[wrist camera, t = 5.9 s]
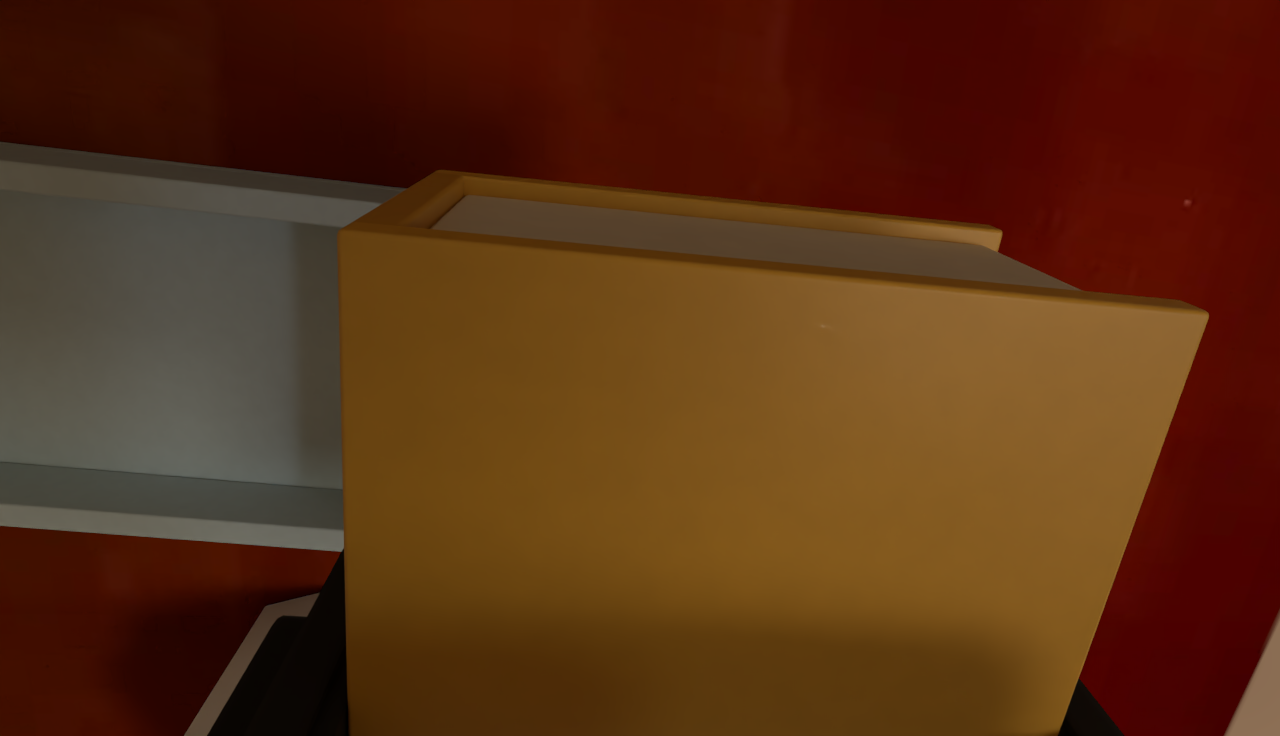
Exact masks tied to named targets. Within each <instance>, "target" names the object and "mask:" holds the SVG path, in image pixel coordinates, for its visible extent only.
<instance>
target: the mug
mask: <svg viewBox="0 0 1280 736" xmlns="http://www.w3.org/2000/svg"><path fill="white" fill-rule="evenodd" d="M318 595H319V593H316V594H312V595H308V596H304V597H300V598H296V599H292V600H288V601H284V602H279V603H275V604H271V605H267V606H265V607H264V609H263V610H262V612H261V614H260V615H259V617H258V618H257V620H256V622H255V623H254V625H253V626H252V628H251V630H250V631H249V633H248V634H247V636H246V638H245V639H244V641H243V642H242V644H241V646H240V647H239V649H238V650H237V652H236V654H235V655H234V657H233V658H232V660H231V661H230V663H229V665H228V666H227V668H226V669H225V671H224V673H223V674H222V676H221V677H220V679H219V681H218V682H217V684H216V685H215V687H214V689H213V690H212V692H211V693H210V695H209V697H208V698H207V700H206V701H205V703H204V705H203V706H202V708H201V709H200V711H199V712H198V714H197V716H196V717H195V719H194V720H193V722H192V724H191V725H190V727H189V728H188V730H187V732H186V733H185V735H184V736H207V735H208V733H209V731H210V730H211V728H212V726H213V724H214V723H215V721H216V719H217V718H218V716H219V714H220V713H221V711H222V709H223V708H224V706H225V704H226V702H227V701H228V699H229V697H230V696H231V694H232V692H233V691H234V689H235V687H236V685H237V684H238V682H239V680H240V679H241V677H242V675H243V674H244V672H245V670H246V669H247V667H248V665H249V663H250V662H251V660H252V658H253V657H254V655H255V653H256V652H257V650H258V648H259V646H260V645H261V643H262V641H263V640H264V638H265V636H266V635H267V633H268V631H269V629H270V628H271V626H272V625H273V623H274V622H275V621H276V620H277V618H279V617H281V616H283V615H285V616H303V617H307V616H308V614H309V612H310V610H311V608H312V606H313V605H314V603H315V601H316V599H317V597H318Z"/></svg>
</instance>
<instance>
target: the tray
mask: <svg viewBox="0 0 1280 736" xmlns="http://www.w3.org/2000/svg"><path fill="white" fill-rule="evenodd" d="M406 189H407V188H398V187H389V186H380V185H372V184H363V183H354V182H346V181H337V180H328V179H320V178H311V177H302V176H293V175H285V174H276V173H267V172H259V171H250V170H241V169H233V168H224V167H215V166H206V165H198V164H189V163H180V162H172V161H163V160H154V159H145V158H137V157H128V156H119V155H111V154H102V153H93V152H85V151H76V150H67V149H58V148H50V147H41V146H32V145H24V144H15V143H6V142H0V526H11V527H24V528H37V529H51V530H64V531H77V532H90V533H103V534H116V535H130V536H143V537H156V538H169V539H182V540H195V541H208V542H222V543H235V544H248V545H261V546H274V547H287V548H301V549H314V550H327V551H340V552H342V550H343V548H344V525H343V481H342V437H341V394H340V350H339V306H338V262H337V233H338V231H339V230H340V229H342V228H343V227H345V226H347V225H348V224H350V223H352V222H353V221H355V220H356V219H358V218H360V217H361V216H363V215H365V214H366V213H368V212H370V211H371V210H373V209H375V208H376V207H378V206H379V205H381V204H383V203H384V202H386V201H388V200H389V199H391V198H393V197H394V196H396V195H398V194H399V193H401V192H402V191H404V190H406Z"/></svg>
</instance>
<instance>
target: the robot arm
mask: <svg viewBox="0 0 1280 736" xmlns="http://www.w3.org/2000/svg"><path fill="white" fill-rule="evenodd" d="M207 736H348V700H347V657H346V613H345V569H344V548H343V550H342V552H341V554H340V556H339V558H338V560H337V562H336V563H335V565H334V567H333V569H332V571H331V573H330V575H329V576H328V578H327V580H326V582H325V584H324V586H323V588H322V590H321V591H320V593H319V595H318V597H317V599H316V601H315V603H314V605H313V606H312V608H311V610H310V612H309V614H308V616H307V617H303V616H285V615H283V616H281V617H279V618H277V620H276V621H275V622H274V623H273V625H272V626H271V628H270V629H269V631H268V633H267V635H266V636H265V638H264V640H263V641H262V643H261V645H260V646H259V648H258V650H257V652H256V653H255V655H254V657H253V658H252V660H251V662H250V663H249V665H248V667H247V669H246V670H245V672H244V674H243V675H242V677H241V679H240V680H239V682H238V684H237V685H236V687H235V689H234V691H233V692H232V694H231V696H230V697H229V699H228V701H227V702H226V704H225V706H224V708H223V709H222V711H221V713H220V714H219V716H218V718H217V719H216V721H215V723H214V724H213V726H212V728H211V730H210V731H209V733H208V735H207ZM1058 736H1124V735H1123V733H1122V732H1121V731H1120V730H1119V728H1118V727H1117V726H1116V725H1115V723H1114V722H1113V721H1112V720H1111V718H1110V717H1109V716H1108V715H1107V713H1106V712H1105V711H1104V709H1103V708H1102V707H1101V706H1100V704H1099V703H1098V702H1097V701H1096V699H1095V698H1094V697H1093V696H1092V694H1091V693H1090V692H1089V691H1088V689H1087V688H1086V687H1085V685H1084V684H1083V683H1082V682H1081V680H1080V679H1079V678H1078V681H1077V684H1076V687H1075V690H1074V692H1073V695H1072V698H1071V701H1070V703H1069V706H1068V709H1067V712H1066V715H1065V717H1064V720H1063V723H1062V726H1061V728H1060V731H1059V734H1058Z"/></svg>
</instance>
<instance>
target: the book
mask: <svg viewBox="0 0 1280 736" xmlns="http://www.w3.org/2000/svg"><path fill="white" fill-rule="evenodd" d="M1001 237H1002V231H1001V230H1000V229H997V228H995V227H992V226H990V225H984V224H974V223H964V222H954V221H944V220H934V219H924V218H914V217H904V216H894V215H885V214H875V213H865V212H855V211H845V210H835V209H825V208H815V207H805V206H795V205H786V204H776V203H766V202H756V201H746V200H736V199H726V198H716V197H706V196H696V195H686V194H677V193H667V192H657V191H647V190H637V189H627V188H617V187H607V186H597V185H587V184H578V183H568V182H558V181H548V180H538V179H528V178H518V177H508V176H498V175H488V174H478V173H469V172H459V171H449V170H437V171H435V172H434V173H432V174H430V175H429V176H427V177H425V178H424V179H422V180H421V181H419V182H417V183H416V184H414V185H412V186H411V187H409V188H407V189H406V190H404V191H402V192H401V193H399V194H398V195H396V196H394V197H393V198H391V199H389V200H388V201H386V202H384V203H383V204H381V205H379V206H378V207H376V208H375V209H373V210H371V211H370V212H368V213H366V214H365V215H363V216H361V217H360V218H358V219H356V220H355V221H353V222H352V223H350V224H348V225H347V226H345V227H343V228H342V229H340V230H339V231H338V233H337V262H338V306H339V350H340V394H341V437H342V481H343V525H344V569H345V613H346V657H347V700H348V736H1058V734H1059V731H1060V728H1061V726H1062V723H1063V720H1064V717H1065V715H1066V712H1067V709H1068V706H1069V703H1070V701H1071V698H1072V695H1073V692H1074V690H1075V687H1076V684H1077V681H1078V678H1079V676H1080V673H1081V670H1082V667H1083V665H1084V662H1085V659H1086V656H1087V653H1088V651H1089V648H1090V645H1091V642H1092V640H1093V637H1094V634H1095V631H1096V629H1097V626H1098V623H1099V620H1100V617H1101V615H1102V612H1103V609H1104V606H1105V604H1106V601H1107V598H1108V595H1109V592H1110V590H1111V587H1112V584H1113V581H1114V579H1115V576H1116V573H1117V570H1118V567H1119V565H1120V562H1121V559H1122V556H1123V554H1124V551H1125V548H1126V545H1127V543H1128V540H1129V537H1130V534H1131V531H1132V529H1133V526H1134V523H1135V520H1136V518H1137V515H1138V512H1139V509H1140V506H1141V504H1142V501H1143V498H1144V495H1145V493H1146V490H1147V487H1148V484H1149V481H1150V479H1151V476H1152V473H1153V470H1154V468H1155V465H1156V462H1157V459H1158V457H1159V454H1160V451H1161V448H1162V445H1163V443H1164V440H1165V437H1166V434H1167V432H1168V429H1169V426H1170V423H1171V420H1172V418H1173V415H1174V412H1175V409H1176V407H1177V404H1178V401H1179V398H1180V395H1181V393H1182V390H1183V387H1184V384H1185V382H1186V379H1187V376H1188V373H1189V371H1190V368H1191V365H1192V362H1193V359H1194V357H1195V354H1196V351H1197V348H1198V346H1199V343H1200V340H1201V337H1202V334H1203V332H1204V329H1205V326H1206V323H1207V321H1208V318H1209V313H1208V312H1206V311H1205V310H1203V309H1200V308H1198V307H1195V306H1193V305H1190V304H1188V303H1185V302H1183V301H1180V300H1173V299H1162V298H1152V297H1141V296H1130V295H1120V294H1109V293H1099V292H1088V291H1082V290H1080V289H1077V288H1075V287H1073V286H1071V285H1069V284H1066V283H1064V282H1062V281H1060V280H1058V279H1055V278H1053V277H1051V276H1049V275H1047V274H1044V273H1042V272H1040V271H1038V270H1035V269H1033V268H1031V267H1029V266H1027V265H1024V264H1022V263H1020V262H1018V261H1016V260H1013V259H1011V258H1009V257H1007V256H1005V255H1002V254H1000V253H998V249H999V245H1000V241H1001Z"/></svg>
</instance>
